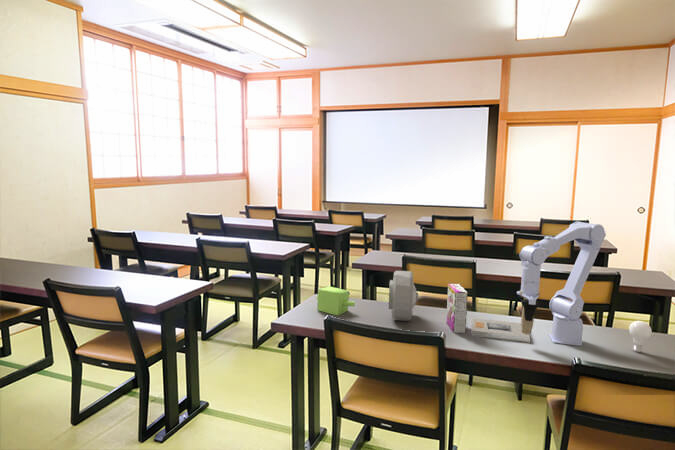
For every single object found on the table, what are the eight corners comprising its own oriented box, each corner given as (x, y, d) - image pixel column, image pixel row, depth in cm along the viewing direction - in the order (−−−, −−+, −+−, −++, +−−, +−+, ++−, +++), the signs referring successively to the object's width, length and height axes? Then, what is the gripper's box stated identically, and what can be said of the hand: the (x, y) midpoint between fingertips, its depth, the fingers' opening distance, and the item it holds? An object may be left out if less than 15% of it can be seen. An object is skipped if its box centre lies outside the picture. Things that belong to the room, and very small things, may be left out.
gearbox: (359, 312, 186) (360, 291, 185) (347, 318, 178) (348, 296, 177) (324, 304, 196) (325, 283, 195) (311, 309, 187) (312, 287, 186)
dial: (417, 329, 167) (420, 278, 164) (387, 326, 169) (389, 277, 166) (416, 311, 187) (418, 266, 184) (389, 309, 189) (391, 265, 186)
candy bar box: (445, 322, 174) (447, 283, 172) (457, 323, 174) (459, 283, 172) (452, 333, 163) (455, 291, 161) (466, 333, 163) (468, 291, 161)
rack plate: (524, 328, 169) (524, 323, 169) (529, 342, 156) (530, 336, 156) (471, 322, 175) (471, 317, 174) (471, 335, 161) (472, 330, 161)
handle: (516, 329, 155) (519, 289, 153) (535, 332, 153) (539, 291, 151) (516, 334, 151) (519, 292, 149) (536, 337, 149) (540, 295, 147)
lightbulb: (639, 347, 153) (643, 318, 151) (653, 355, 146) (657, 324, 145) (622, 347, 152) (625, 318, 151) (635, 355, 146) (638, 324, 145)
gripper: (515, 274, 157) (512, 310, 159) (520, 285, 144) (517, 324, 145) (536, 276, 155) (533, 312, 157) (543, 287, 142) (540, 326, 144)
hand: (527, 318), depth 151 cm, fingers closed on handle, 4 cm apart
